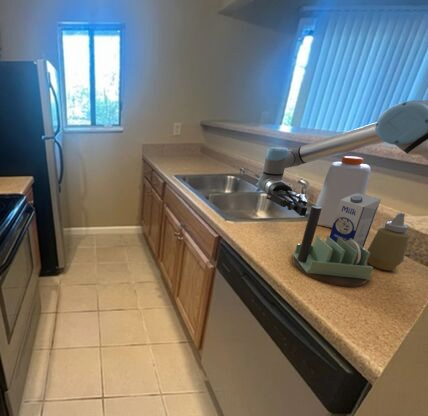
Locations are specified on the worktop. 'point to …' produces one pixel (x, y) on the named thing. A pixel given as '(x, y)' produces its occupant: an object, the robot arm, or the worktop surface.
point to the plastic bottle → (341, 186)
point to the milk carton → (354, 218)
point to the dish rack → (331, 253)
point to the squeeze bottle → (389, 244)
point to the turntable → (332, 278)
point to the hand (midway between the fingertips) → (303, 212)
